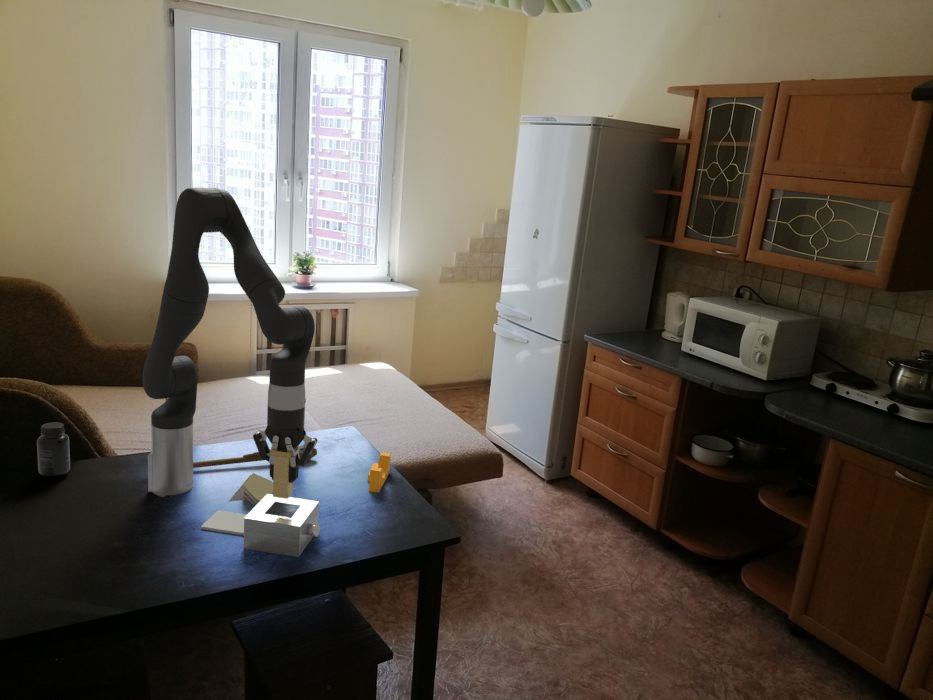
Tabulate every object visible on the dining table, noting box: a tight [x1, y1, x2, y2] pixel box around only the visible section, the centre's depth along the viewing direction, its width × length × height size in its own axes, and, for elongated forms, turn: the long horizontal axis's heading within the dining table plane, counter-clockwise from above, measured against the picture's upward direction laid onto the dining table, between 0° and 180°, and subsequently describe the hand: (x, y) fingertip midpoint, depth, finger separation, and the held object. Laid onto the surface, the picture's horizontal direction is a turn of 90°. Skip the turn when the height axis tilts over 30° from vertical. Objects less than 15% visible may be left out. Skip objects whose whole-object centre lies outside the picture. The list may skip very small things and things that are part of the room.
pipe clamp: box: [367, 452, 392, 494], centre depth 185 cm, size 12×4×6 cm, turn 173°
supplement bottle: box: [36, 421, 71, 477], centre depth 174 cm, size 7×7×12 cm
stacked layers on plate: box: [227, 473, 273, 507], centre depth 169 cm, size 10×9×6 cm
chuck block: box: [243, 494, 321, 558], centre depth 153 cm, size 14×12×7 cm
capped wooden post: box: [270, 447, 297, 499], centre depth 150 cm, size 4×4×11 cm
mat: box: [200, 509, 248, 537], centre depth 158 cm, size 10×8×1 cm
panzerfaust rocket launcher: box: [193, 444, 318, 469], centre depth 189 cm, size 5×35×5 cm, turn 113°
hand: (283, 479), depth 151 cm, fingers closed on capped wooden post, 3 cm apart
